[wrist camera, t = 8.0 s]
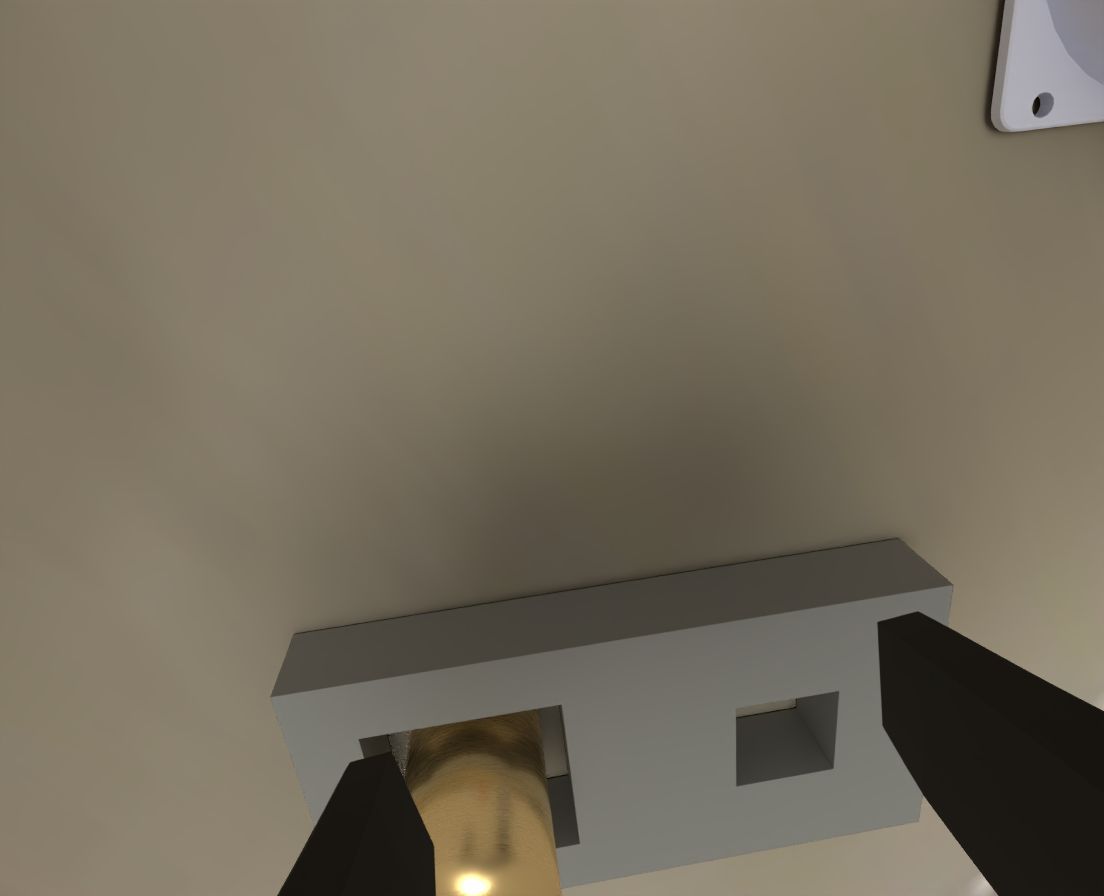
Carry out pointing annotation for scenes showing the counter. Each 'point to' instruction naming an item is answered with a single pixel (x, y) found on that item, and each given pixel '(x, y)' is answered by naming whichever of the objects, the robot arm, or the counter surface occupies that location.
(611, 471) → the counter surface
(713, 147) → the counter surface
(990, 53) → the counter surface
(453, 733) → the gold cylinder
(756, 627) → the header block
